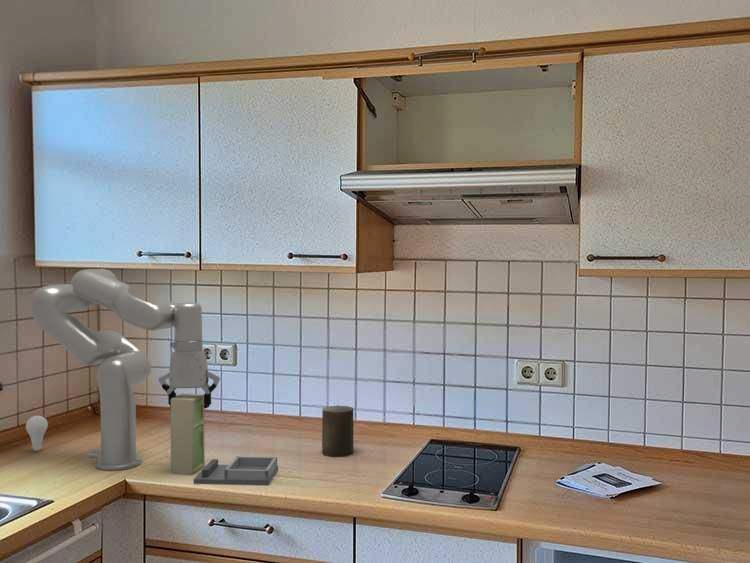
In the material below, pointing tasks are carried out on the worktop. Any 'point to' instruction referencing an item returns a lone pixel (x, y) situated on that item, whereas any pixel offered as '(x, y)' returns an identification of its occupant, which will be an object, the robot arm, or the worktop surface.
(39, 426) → the lightbulb
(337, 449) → the pillar candle
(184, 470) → the beige tall block
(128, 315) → the robot arm
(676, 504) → the worktop surface
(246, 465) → the tray
